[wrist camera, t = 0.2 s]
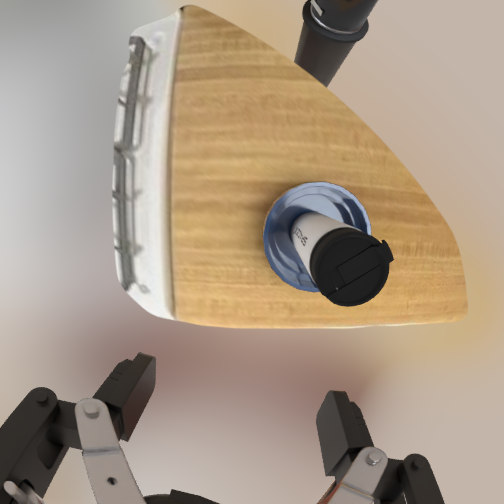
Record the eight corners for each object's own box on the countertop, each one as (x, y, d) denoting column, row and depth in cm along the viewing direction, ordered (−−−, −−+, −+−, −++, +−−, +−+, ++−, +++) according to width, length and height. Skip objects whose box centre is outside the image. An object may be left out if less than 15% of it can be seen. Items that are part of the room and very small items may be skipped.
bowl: (274, 173, 38) (276, 170, 32) (365, 196, 38) (382, 198, 32) (254, 267, 41) (253, 280, 35) (343, 285, 41) (354, 299, 35)
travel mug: (341, 238, 39) (405, 281, 19) (303, 261, 40) (337, 325, 20) (320, 202, 38) (375, 214, 18) (282, 225, 39) (300, 260, 19)
